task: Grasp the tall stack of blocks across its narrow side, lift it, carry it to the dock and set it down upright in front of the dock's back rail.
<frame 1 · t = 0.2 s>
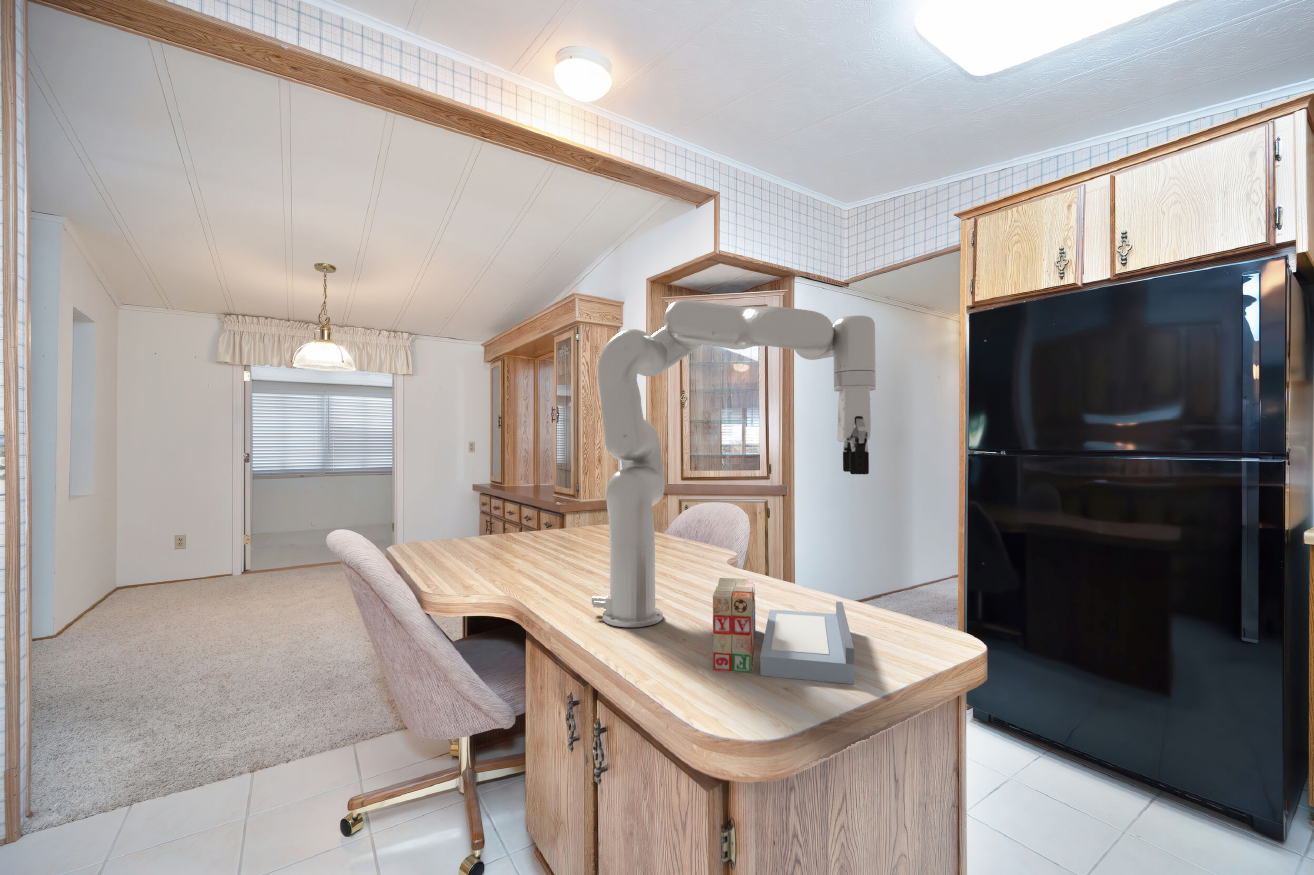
hand: (855, 472, 107), 31 cm above the countertop, tool pointing down, fingers open, 9 cm apart
stack of blocks: (736, 650, 101), on the countertop
dock: (806, 649, 100), on the countertop
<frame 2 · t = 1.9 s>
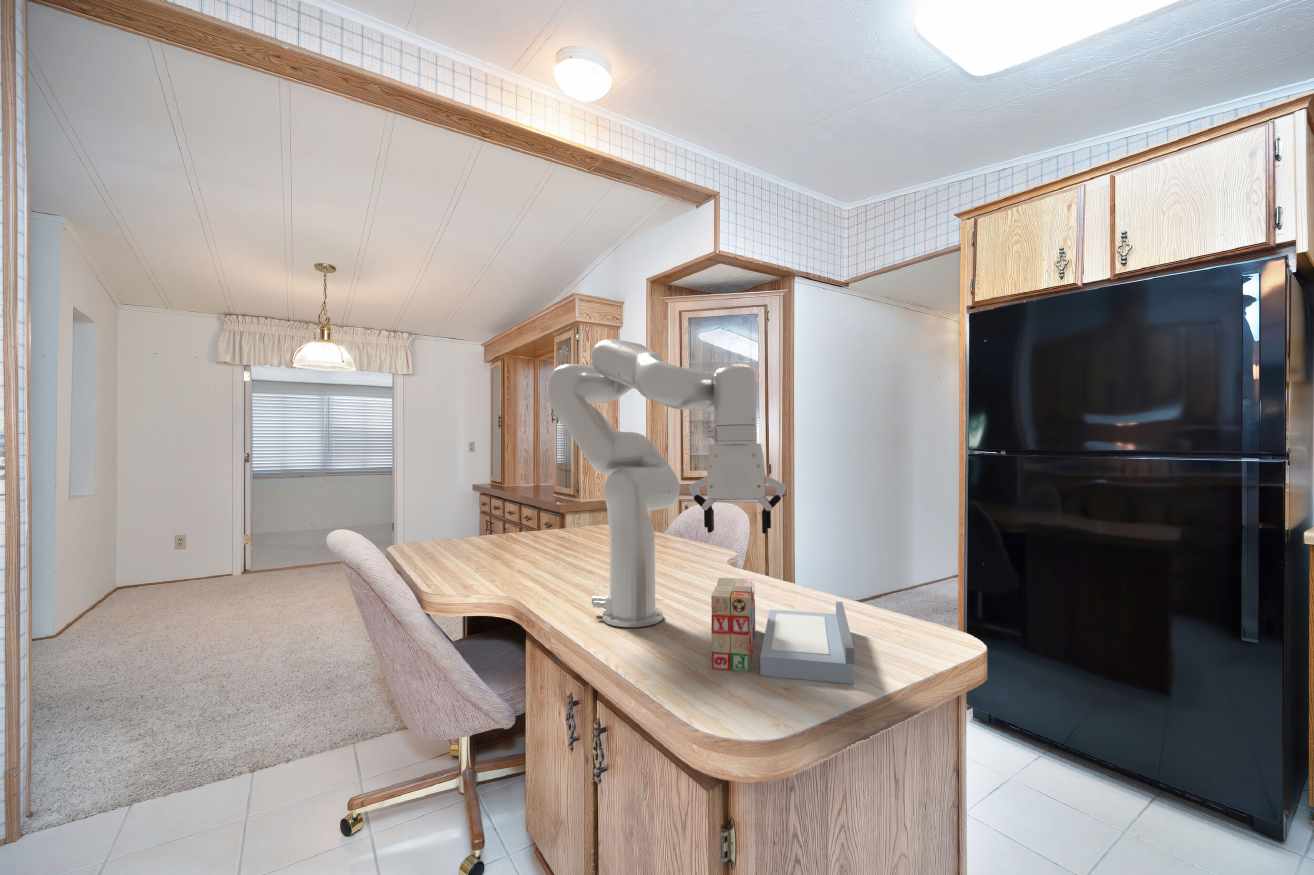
hand: (737, 532, 101), 21 cm above the countertop, tool pointing down, fingers open, 9 cm apart
nothing on the countertop moved.
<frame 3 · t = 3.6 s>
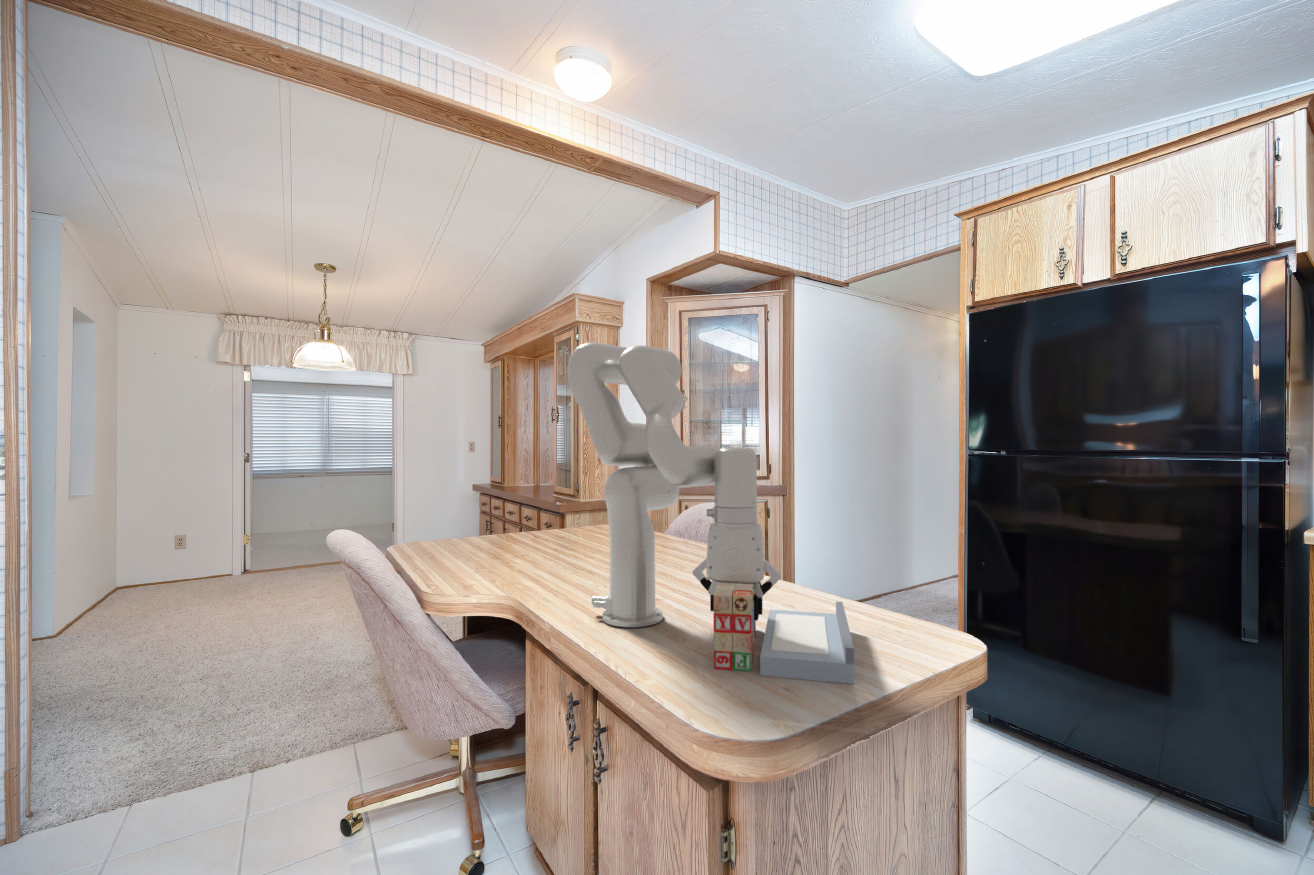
hand: (736, 615, 101), 6 cm above the countertop, tool pointing down, fingers closed on stack of blocks, 6 cm apart
stack of blocks: (736, 648, 101), on the countertop, touching gripper
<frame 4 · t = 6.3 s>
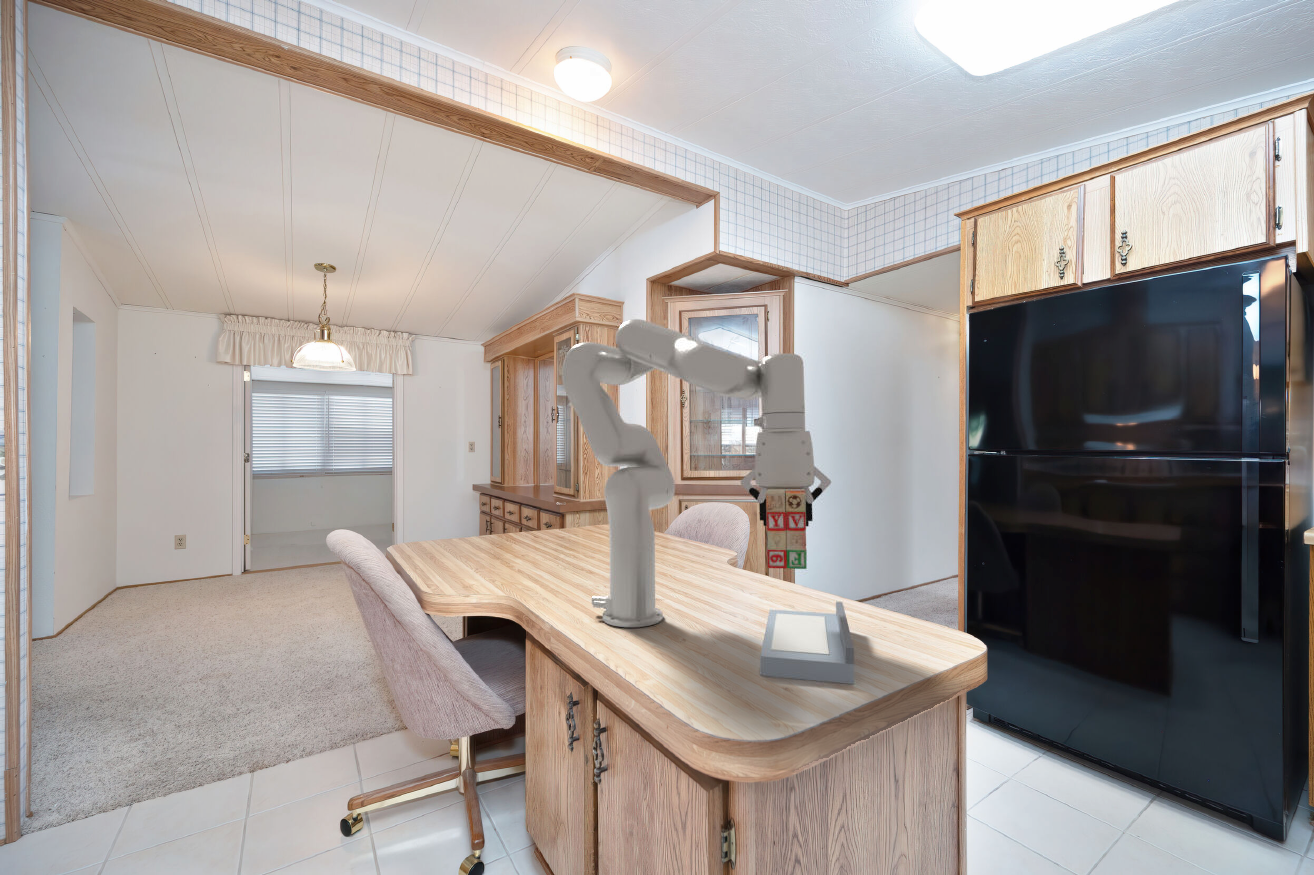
hand: (786, 524, 100), 22 cm above the countertop, tool pointing down, fingers closed on stack of blocks, 6 cm apart
stack of blocks: (786, 557, 101), point 16 cm above the countertop, touching gripper
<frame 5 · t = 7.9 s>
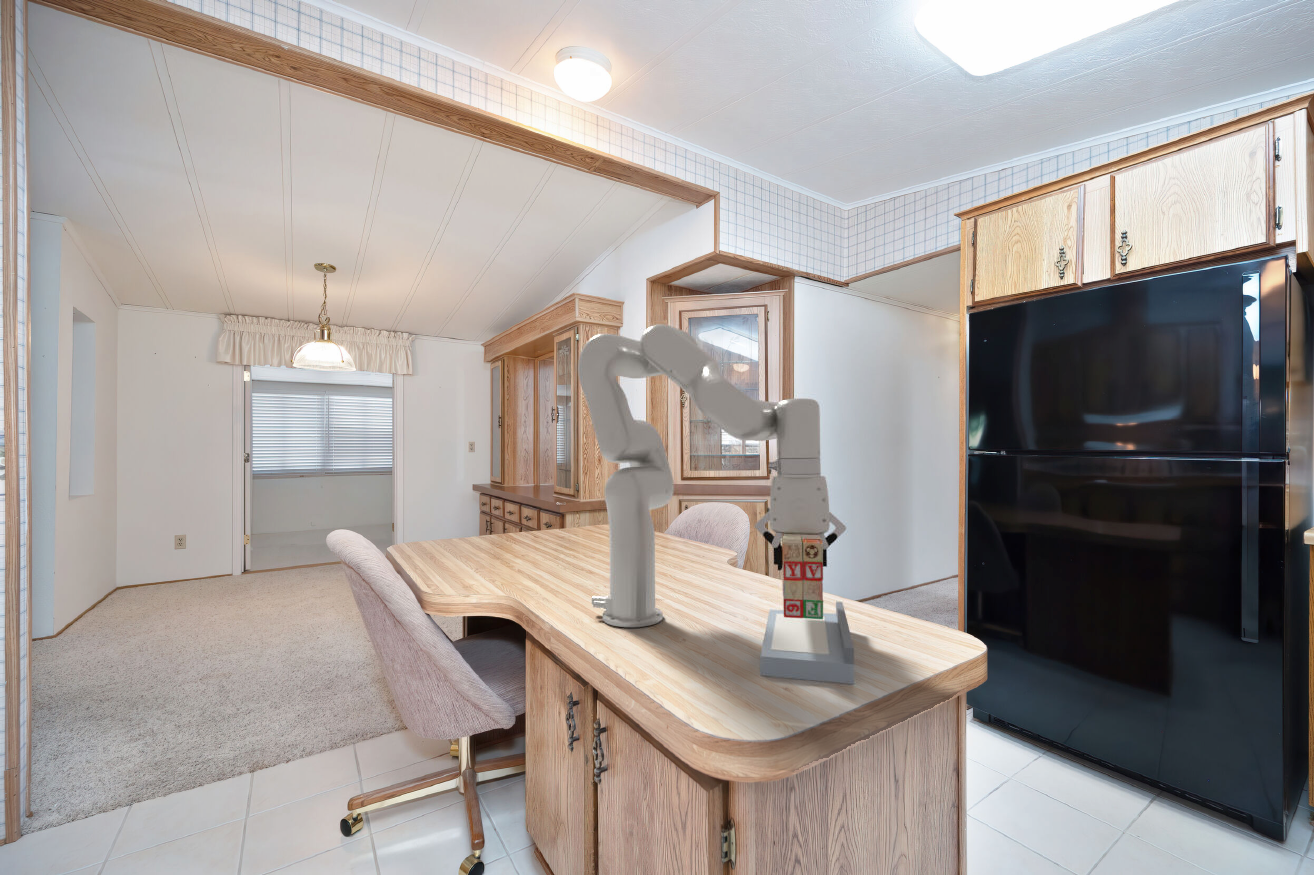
hand: (800, 568, 100), 14 cm above the countertop, tool pointing down, fingers closed on stack of blocks, 6 cm apart
stack of blocks: (800, 601, 101), point 8 cm above the countertop, touching gripper
when the fingers open (9 cm above the countertop, at t = 9.3 s): stack of blocks stays where it is, resting on dock.
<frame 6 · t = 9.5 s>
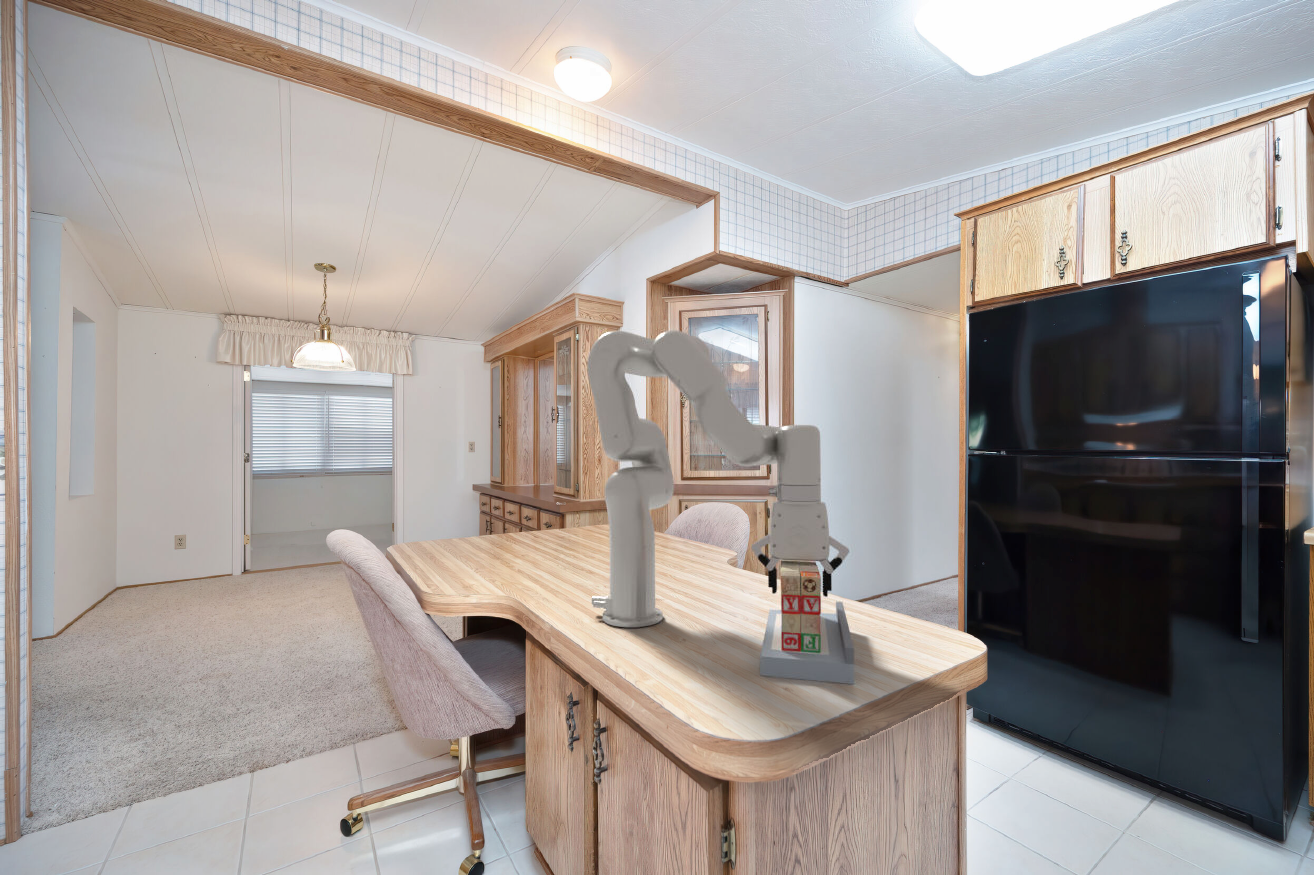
hand: (799, 592, 100), 10 cm above the countertop, tool pointing down, fingers open, 8 cm apart
stack of blocks: (799, 631, 101), point 3 cm above the countertop, touching dock
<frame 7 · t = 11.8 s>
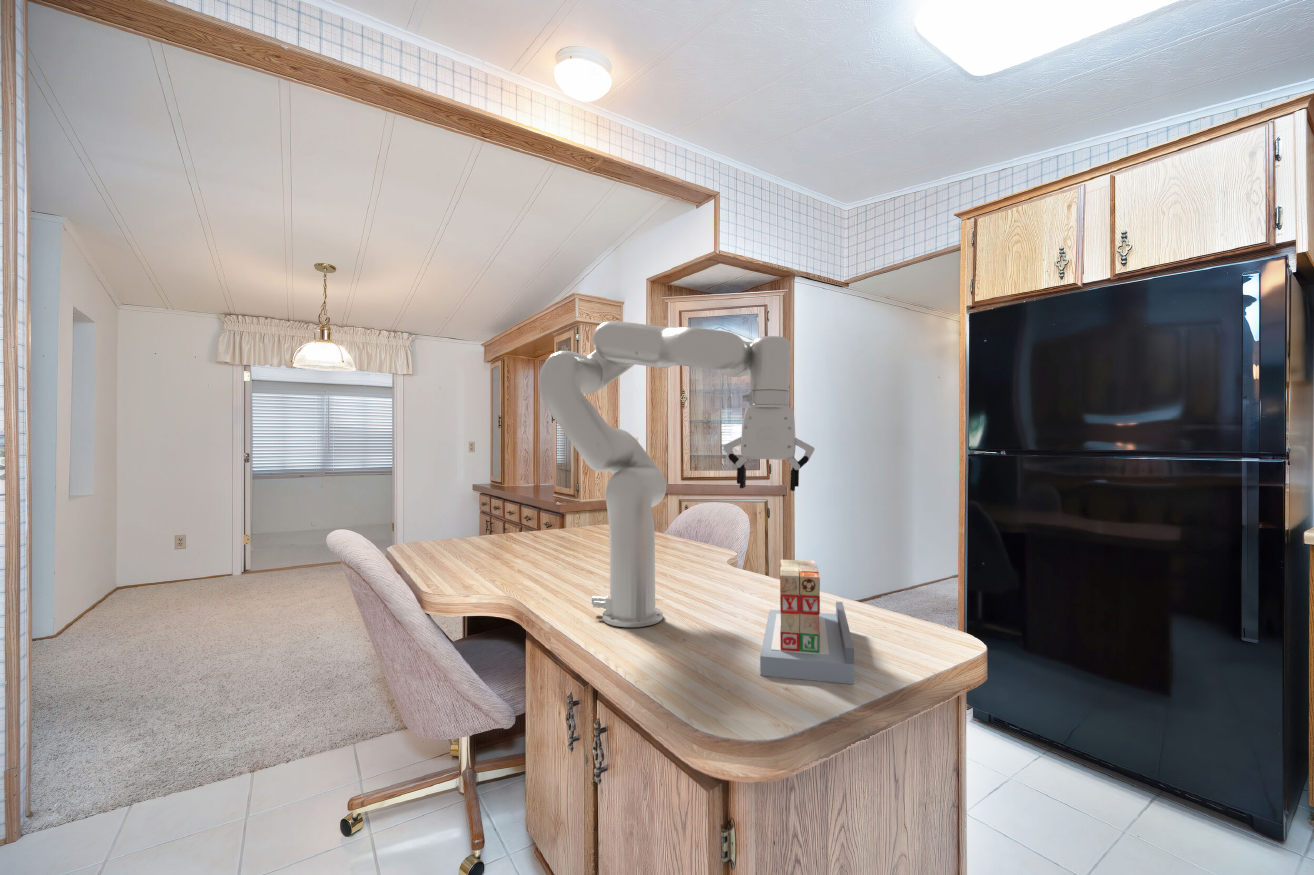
hand: (767, 489, 110), 28 cm above the countertop, tool pointing down, fingers open, 9 cm apart
nothing on the countertop moved.
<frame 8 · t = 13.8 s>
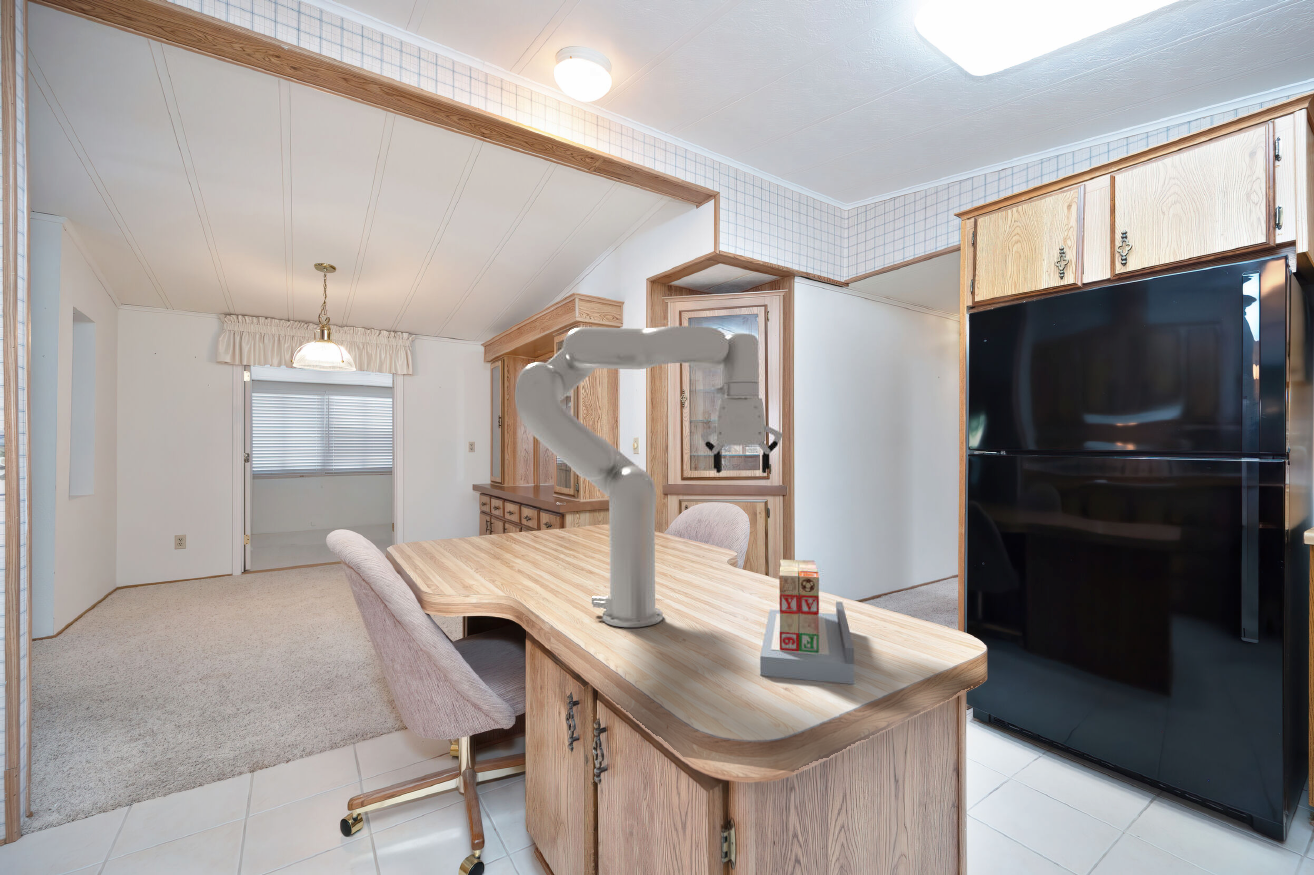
hand: (741, 472, 121), 30 cm above the countertop, tool pointing down, fingers open, 9 cm apart
nothing on the countertop moved.
at the end: stack of blocks inside the target area on the dock (1.0 cm from its centre), point 2.9 cm above the dock's base; stack of blocks tilted 0°; the gripper is holding nothing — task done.
